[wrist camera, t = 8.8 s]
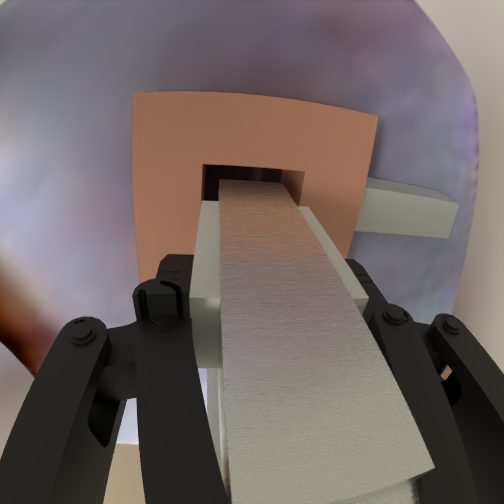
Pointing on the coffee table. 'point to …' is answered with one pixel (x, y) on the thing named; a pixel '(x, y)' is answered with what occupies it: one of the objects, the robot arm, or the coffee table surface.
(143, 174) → the square hole peg fixture
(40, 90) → the coffee table surface
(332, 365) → the wedge pin
